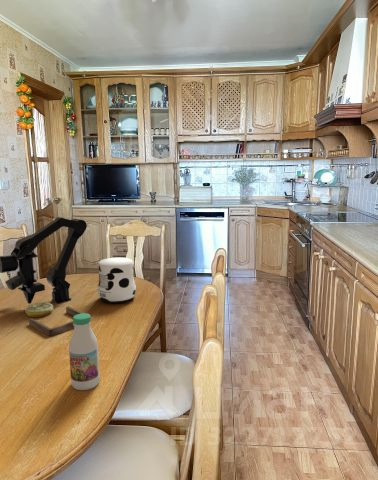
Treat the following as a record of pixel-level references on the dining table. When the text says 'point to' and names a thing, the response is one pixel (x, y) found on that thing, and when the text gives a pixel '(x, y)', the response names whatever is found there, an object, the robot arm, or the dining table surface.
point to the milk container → (116, 280)
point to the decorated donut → (39, 309)
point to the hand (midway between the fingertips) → (29, 303)
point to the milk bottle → (83, 354)
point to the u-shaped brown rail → (59, 328)
